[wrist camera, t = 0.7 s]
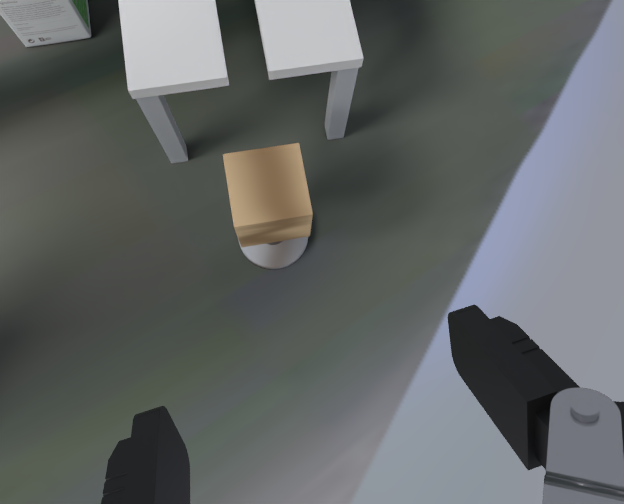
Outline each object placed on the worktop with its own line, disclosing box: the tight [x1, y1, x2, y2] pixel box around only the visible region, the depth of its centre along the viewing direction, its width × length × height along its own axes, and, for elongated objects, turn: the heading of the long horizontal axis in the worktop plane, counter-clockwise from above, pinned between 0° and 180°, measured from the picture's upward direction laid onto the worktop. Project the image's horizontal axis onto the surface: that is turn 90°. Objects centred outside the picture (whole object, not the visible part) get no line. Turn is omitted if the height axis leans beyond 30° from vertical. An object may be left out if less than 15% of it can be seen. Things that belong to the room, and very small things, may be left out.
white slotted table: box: [118, 0, 364, 164], centre depth 42 cm, size 16×20×12 cm
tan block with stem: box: [223, 143, 313, 270], centre depth 38 cm, size 6×6×12 cm
